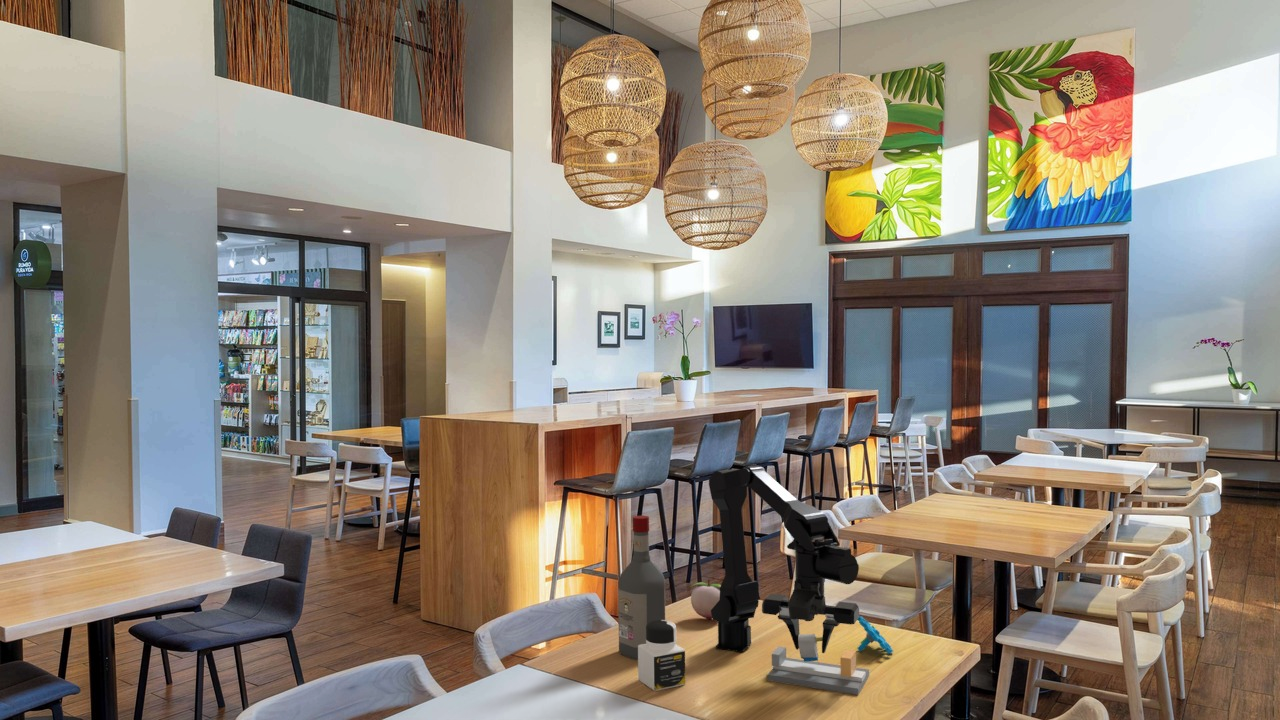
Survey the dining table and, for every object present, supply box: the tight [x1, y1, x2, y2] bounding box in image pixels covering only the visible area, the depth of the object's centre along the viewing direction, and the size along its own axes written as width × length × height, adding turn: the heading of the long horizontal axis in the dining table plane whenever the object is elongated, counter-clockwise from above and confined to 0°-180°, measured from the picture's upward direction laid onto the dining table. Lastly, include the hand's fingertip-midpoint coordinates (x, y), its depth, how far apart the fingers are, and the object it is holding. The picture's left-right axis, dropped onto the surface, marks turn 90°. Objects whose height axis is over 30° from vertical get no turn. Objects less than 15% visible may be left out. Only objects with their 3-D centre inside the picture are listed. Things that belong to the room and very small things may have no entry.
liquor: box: [617, 515, 666, 661], centre depth 185 cm, size 9×9×30 cm
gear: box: [857, 615, 894, 655], centre depth 185 cm, size 11×6×10 cm
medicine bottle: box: [637, 619, 686, 692], centre depth 168 cm, size 7×7×12 cm
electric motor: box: [798, 633, 823, 662], centre depth 170 cm, size 7×5×5 cm
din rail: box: [766, 645, 870, 696], centre depth 169 cm, size 18×11×4 cm, turn 64°
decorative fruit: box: [690, 579, 721, 620], centre depth 208 cm, size 9×8×10 cm
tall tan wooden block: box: [839, 649, 857, 677], centre depth 167 cm, size 2×5×4 cm, turn 154°
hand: (810, 650), depth 170 cm, fingers closed on electric motor, 5 cm apart
